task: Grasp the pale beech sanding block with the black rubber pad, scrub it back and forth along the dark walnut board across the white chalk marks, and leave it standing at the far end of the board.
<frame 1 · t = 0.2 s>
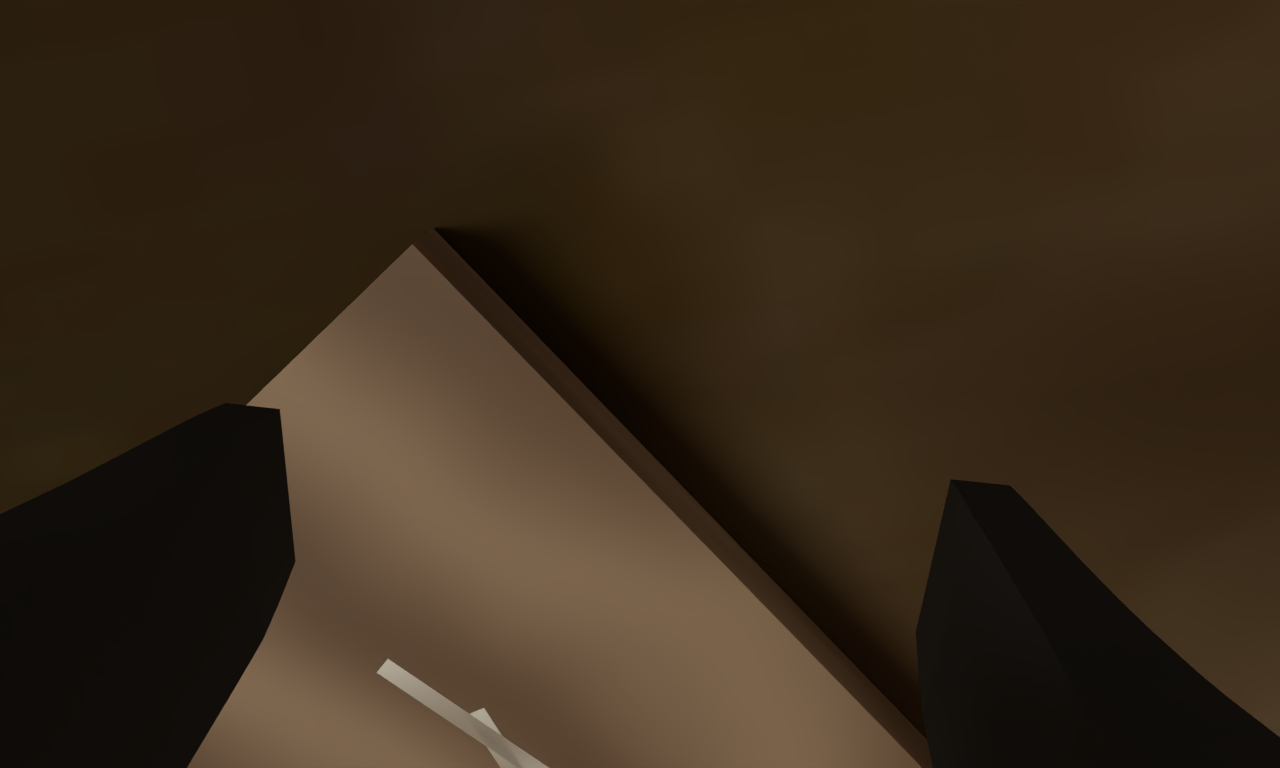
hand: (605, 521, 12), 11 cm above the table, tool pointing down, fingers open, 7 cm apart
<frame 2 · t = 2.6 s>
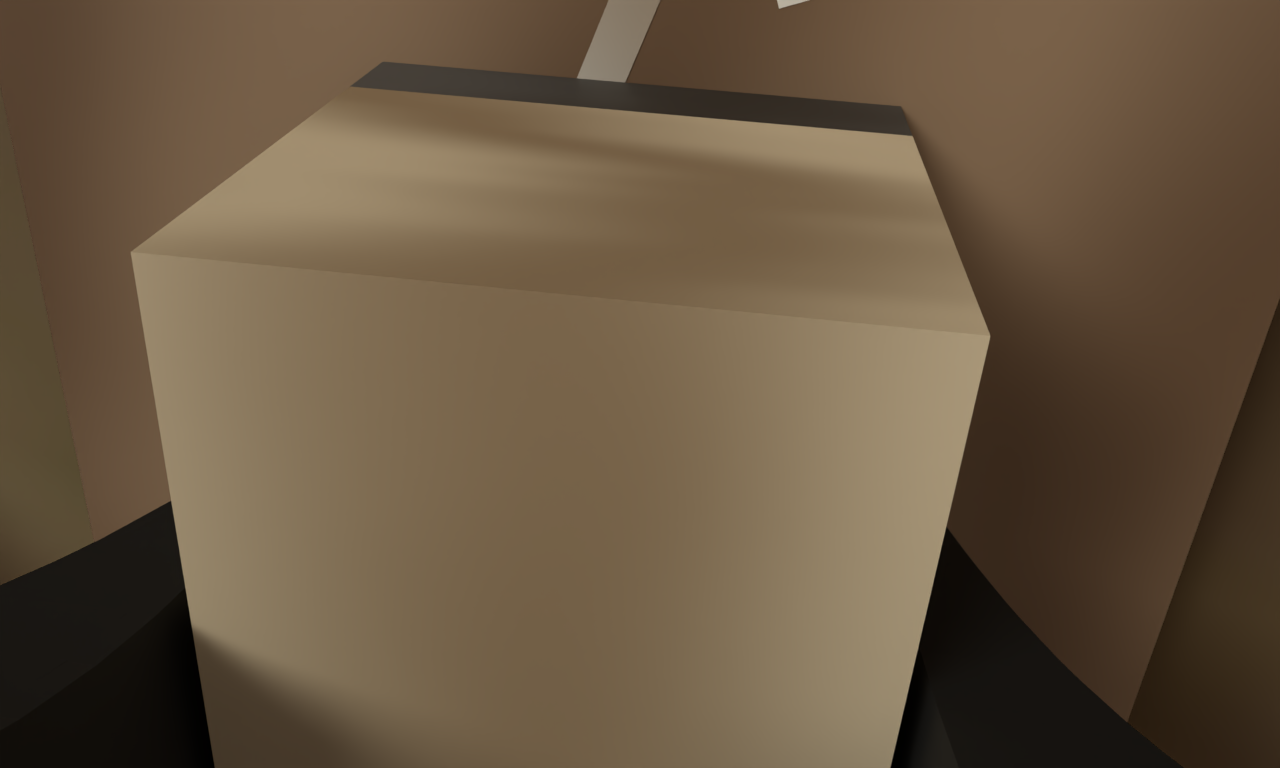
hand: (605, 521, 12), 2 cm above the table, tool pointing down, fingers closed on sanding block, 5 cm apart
sanding block: (614, 476, 13), point 2 cm above the table, touching gripper, walnut board
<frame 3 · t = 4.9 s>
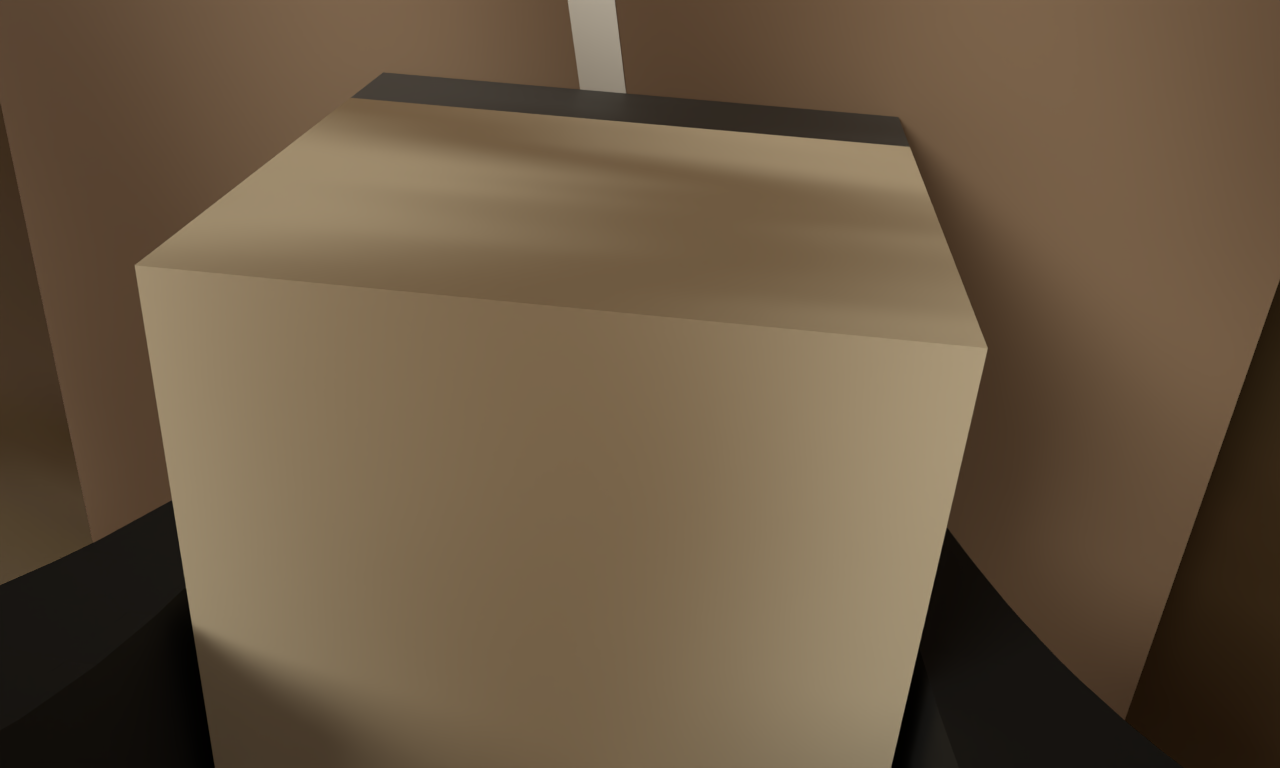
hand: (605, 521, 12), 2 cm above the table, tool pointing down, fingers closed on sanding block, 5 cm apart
walnut board: (619, 524, 15), on the table
sanding block: (613, 484, 13), point 2 cm above the table, touching gripper
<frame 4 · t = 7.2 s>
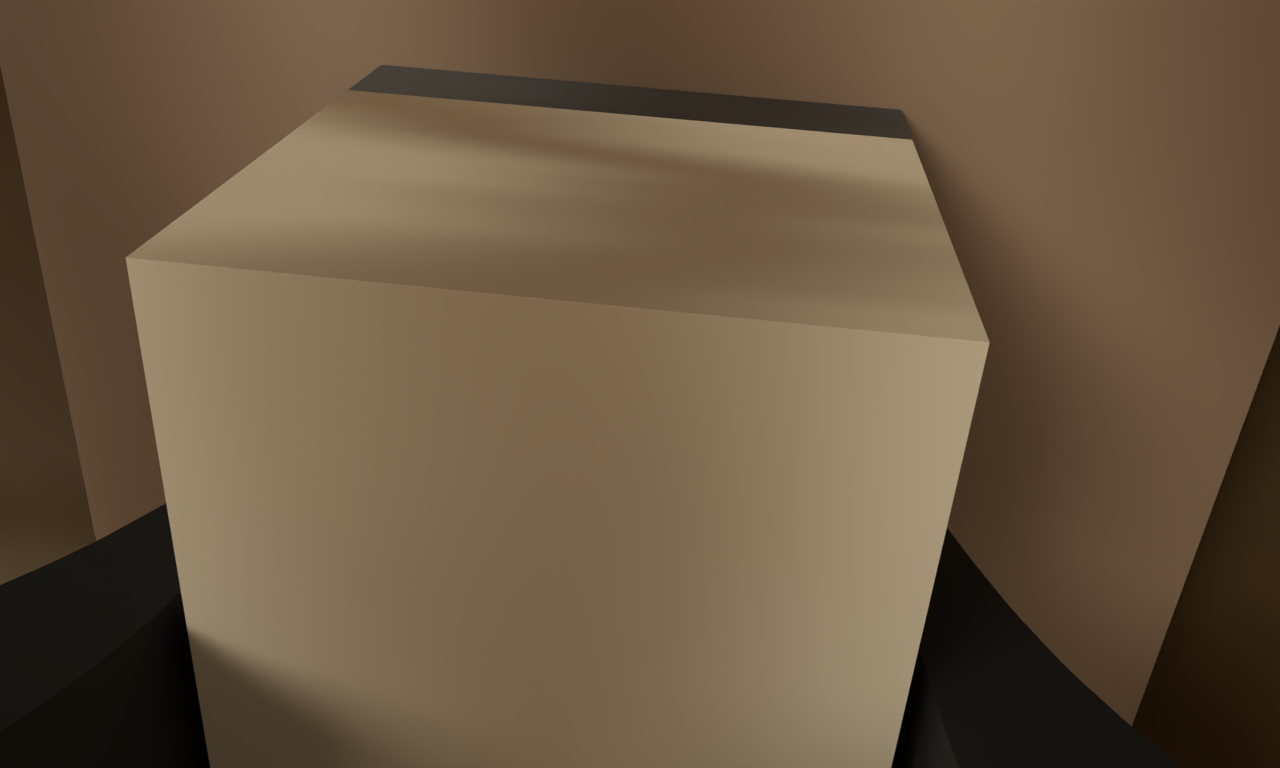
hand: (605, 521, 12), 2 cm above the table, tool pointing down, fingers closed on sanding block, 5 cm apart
walnut board: (619, 609, 16), on the table
sanding block: (614, 480, 13), point 2 cm above the table, touching gripper
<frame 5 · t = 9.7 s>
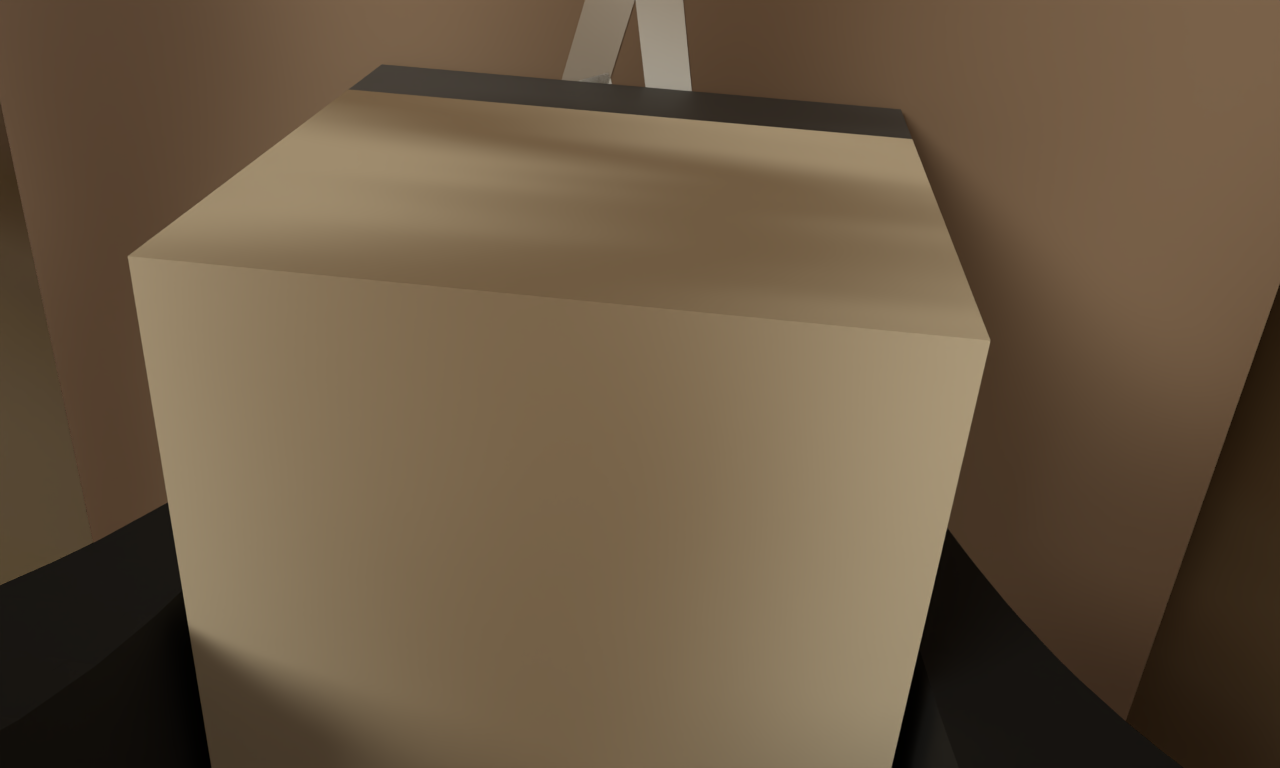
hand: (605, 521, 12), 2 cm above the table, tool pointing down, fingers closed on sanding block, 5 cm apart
walnut board: (635, 274, 14), on the table
sanding block: (613, 480, 13), point 2 cm above the table, touching gripper
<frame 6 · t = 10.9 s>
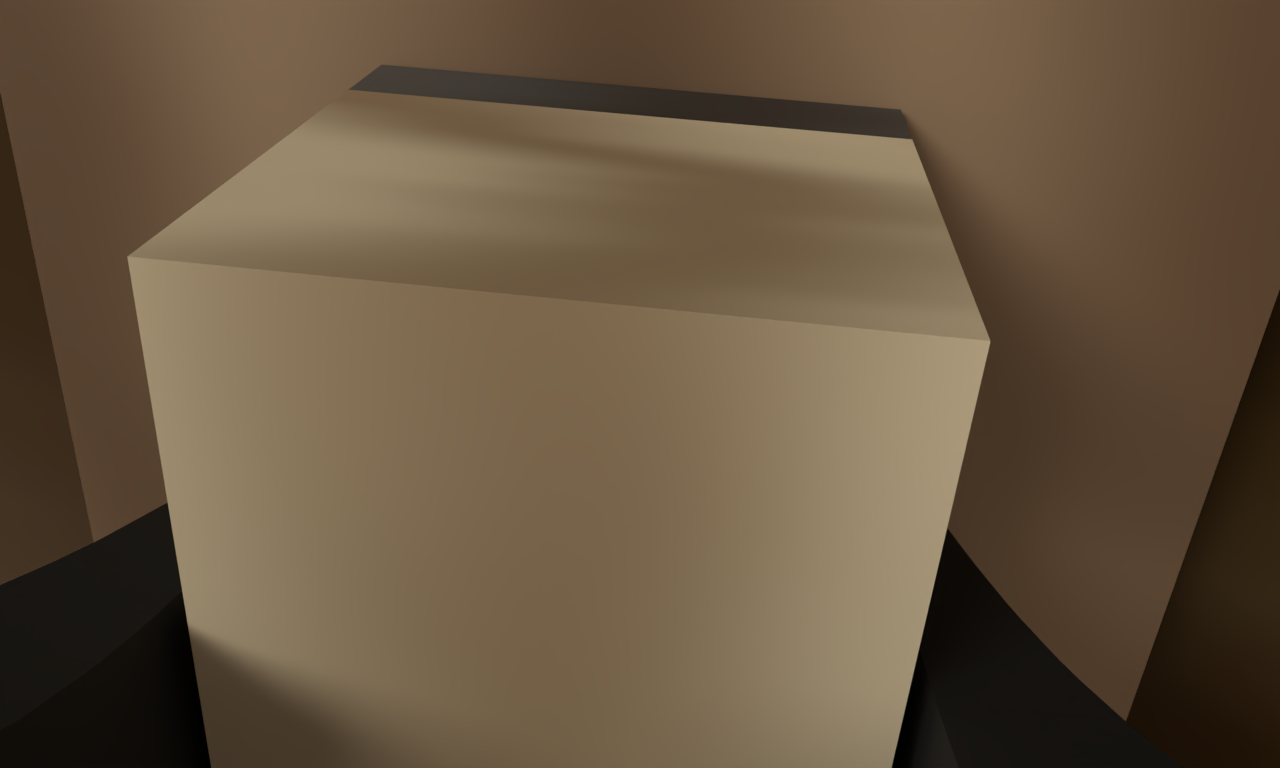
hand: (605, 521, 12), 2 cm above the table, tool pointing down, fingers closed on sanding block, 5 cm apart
walnut board: (605, 760, 17), on the table
sanding block: (613, 480, 13), point 2 cm above the table, touching gripper
when the fingers open (2 cm above the table, at t = 11.7 s): sanding block stays where it is, resting on walnut board.
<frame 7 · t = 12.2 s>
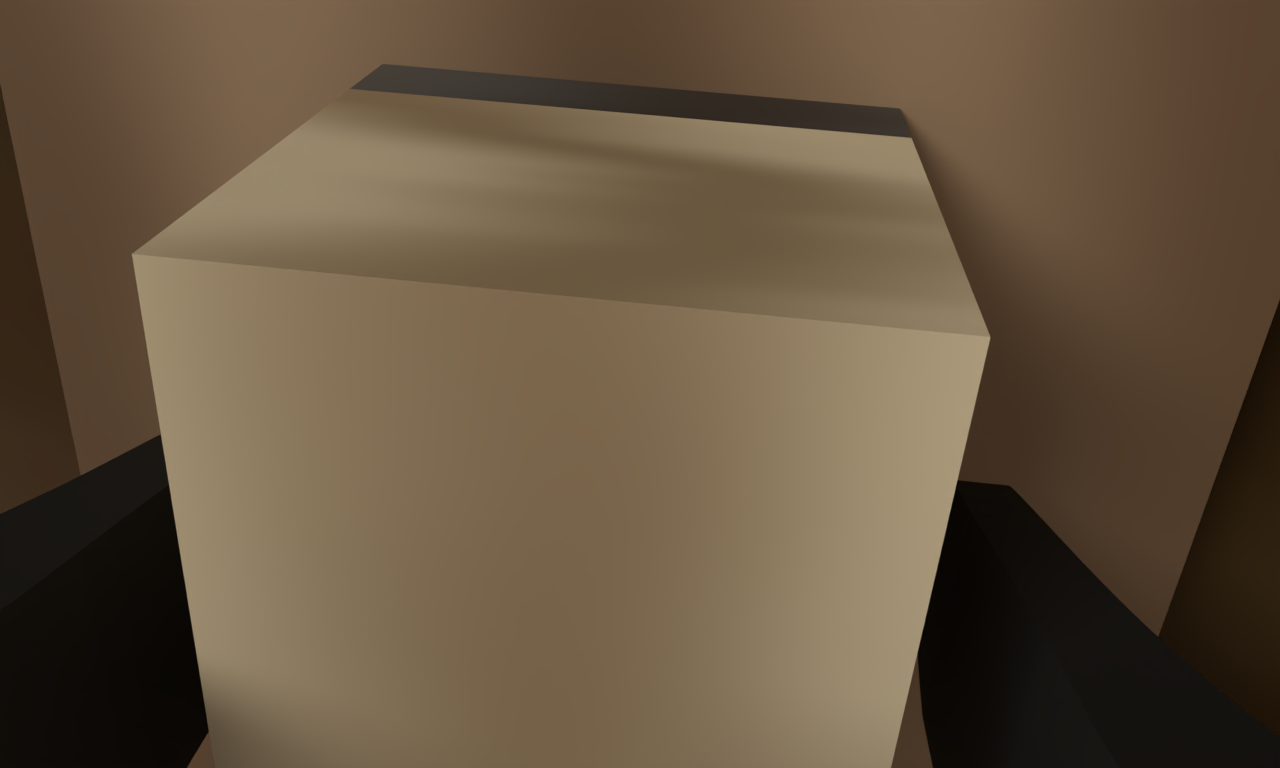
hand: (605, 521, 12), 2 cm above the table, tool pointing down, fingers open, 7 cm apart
sanding block: (614, 478, 13), point 2 cm above the table, touching walnut board
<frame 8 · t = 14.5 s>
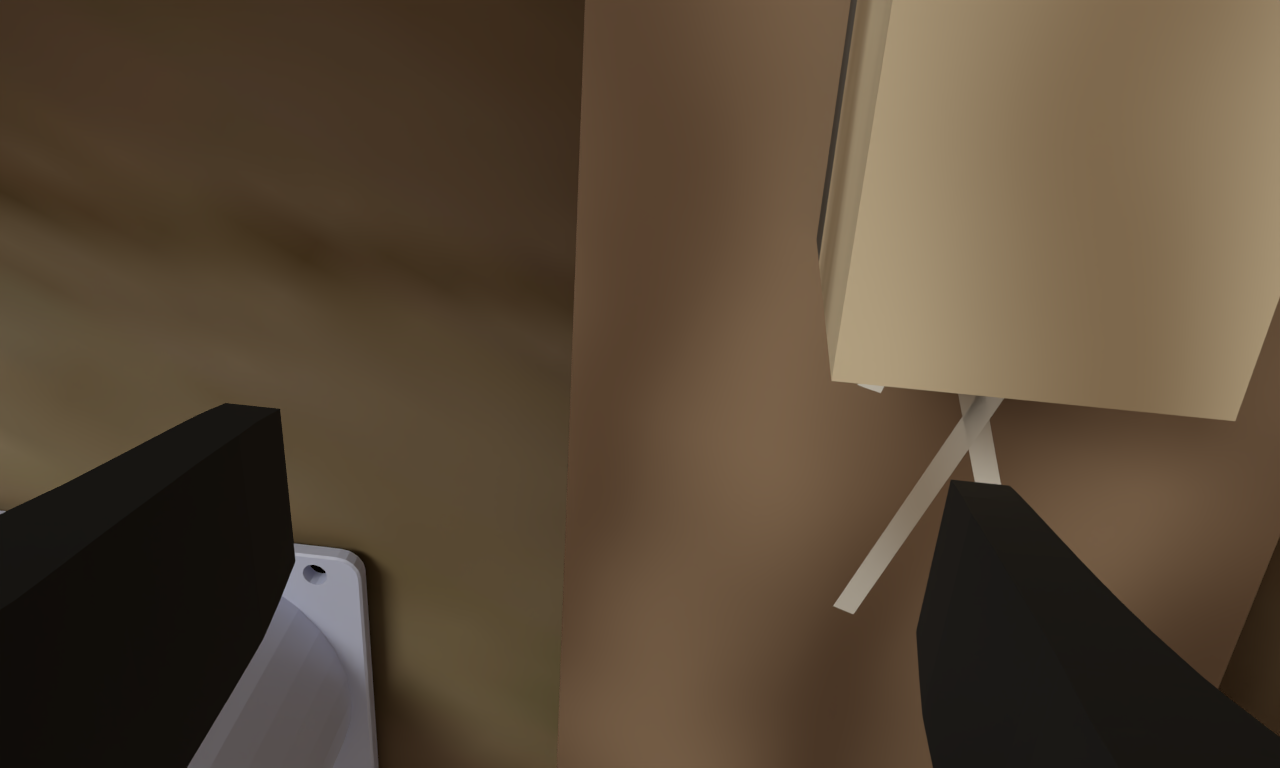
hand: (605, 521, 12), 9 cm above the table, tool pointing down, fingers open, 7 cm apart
walnut board: (930, 347, 21), on the table
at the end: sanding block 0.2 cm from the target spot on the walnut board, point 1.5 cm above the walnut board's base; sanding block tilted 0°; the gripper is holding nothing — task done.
